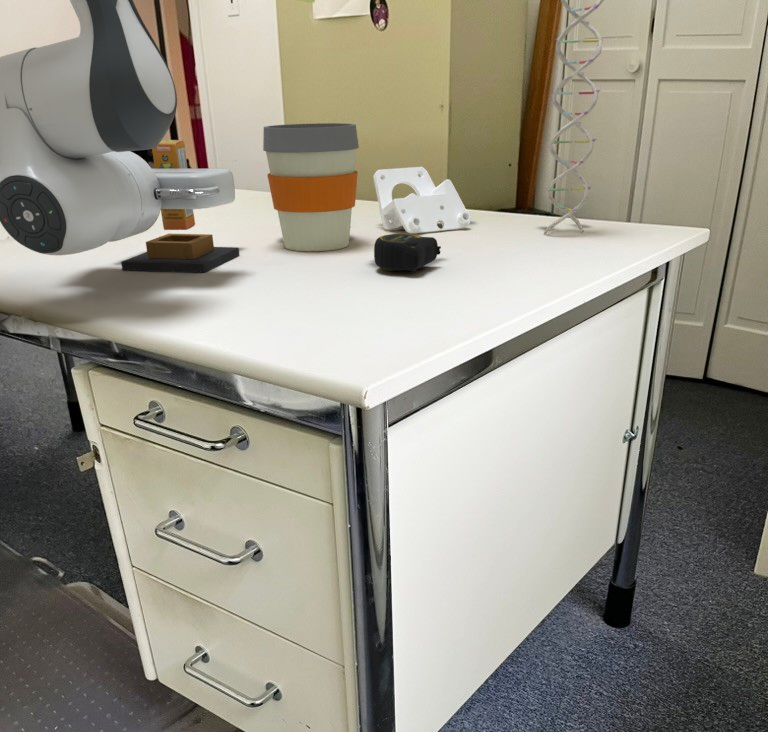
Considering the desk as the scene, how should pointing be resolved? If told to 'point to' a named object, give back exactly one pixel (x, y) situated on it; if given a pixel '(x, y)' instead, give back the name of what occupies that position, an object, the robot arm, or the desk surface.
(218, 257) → the base pad
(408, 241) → the tape measure
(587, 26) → the dna model
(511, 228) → the desk surface
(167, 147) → the supplement box
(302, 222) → the reusable coffee cup
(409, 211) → the mounting bracket
